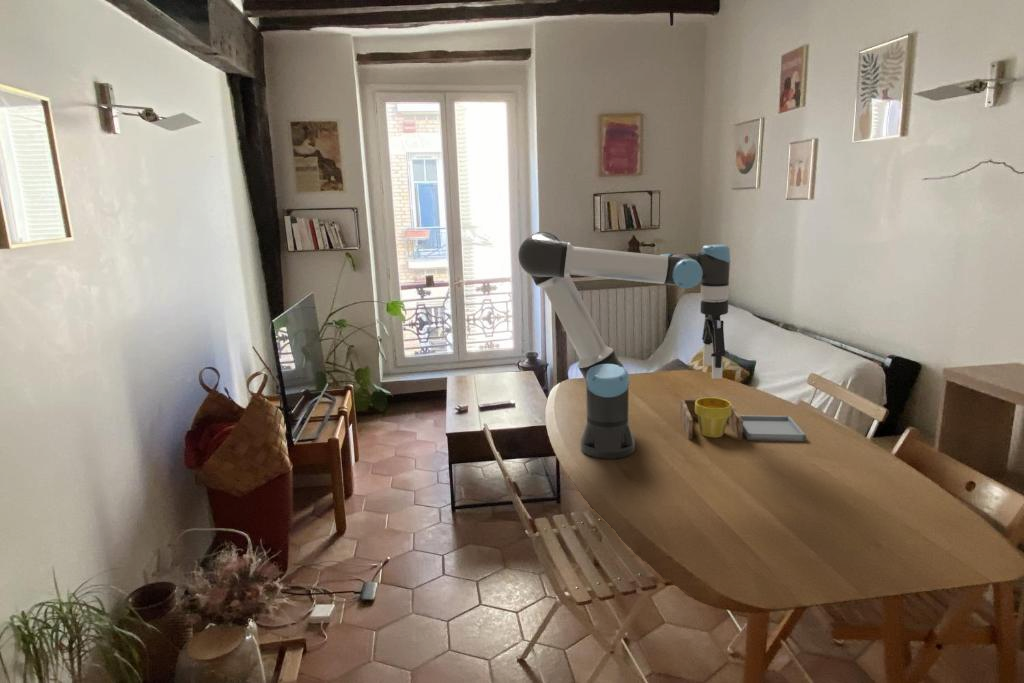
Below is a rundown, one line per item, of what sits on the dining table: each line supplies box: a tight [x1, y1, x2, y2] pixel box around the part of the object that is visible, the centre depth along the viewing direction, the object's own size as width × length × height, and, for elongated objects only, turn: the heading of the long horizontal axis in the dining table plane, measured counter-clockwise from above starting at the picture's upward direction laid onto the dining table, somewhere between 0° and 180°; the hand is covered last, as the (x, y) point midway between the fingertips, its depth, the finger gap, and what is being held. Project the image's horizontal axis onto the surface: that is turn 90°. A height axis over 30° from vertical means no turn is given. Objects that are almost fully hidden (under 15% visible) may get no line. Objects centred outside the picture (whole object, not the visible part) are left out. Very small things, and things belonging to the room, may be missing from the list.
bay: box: [679, 398, 743, 441], centre depth 188 cm, size 19×15×6 cm
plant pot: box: [695, 396, 733, 438], centre depth 183 cm, size 10×10×10 cm
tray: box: [739, 414, 806, 442], centre depth 185 cm, size 16×16×2 cm
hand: (712, 371), depth 181 cm, fingers open, 13 cm apart
